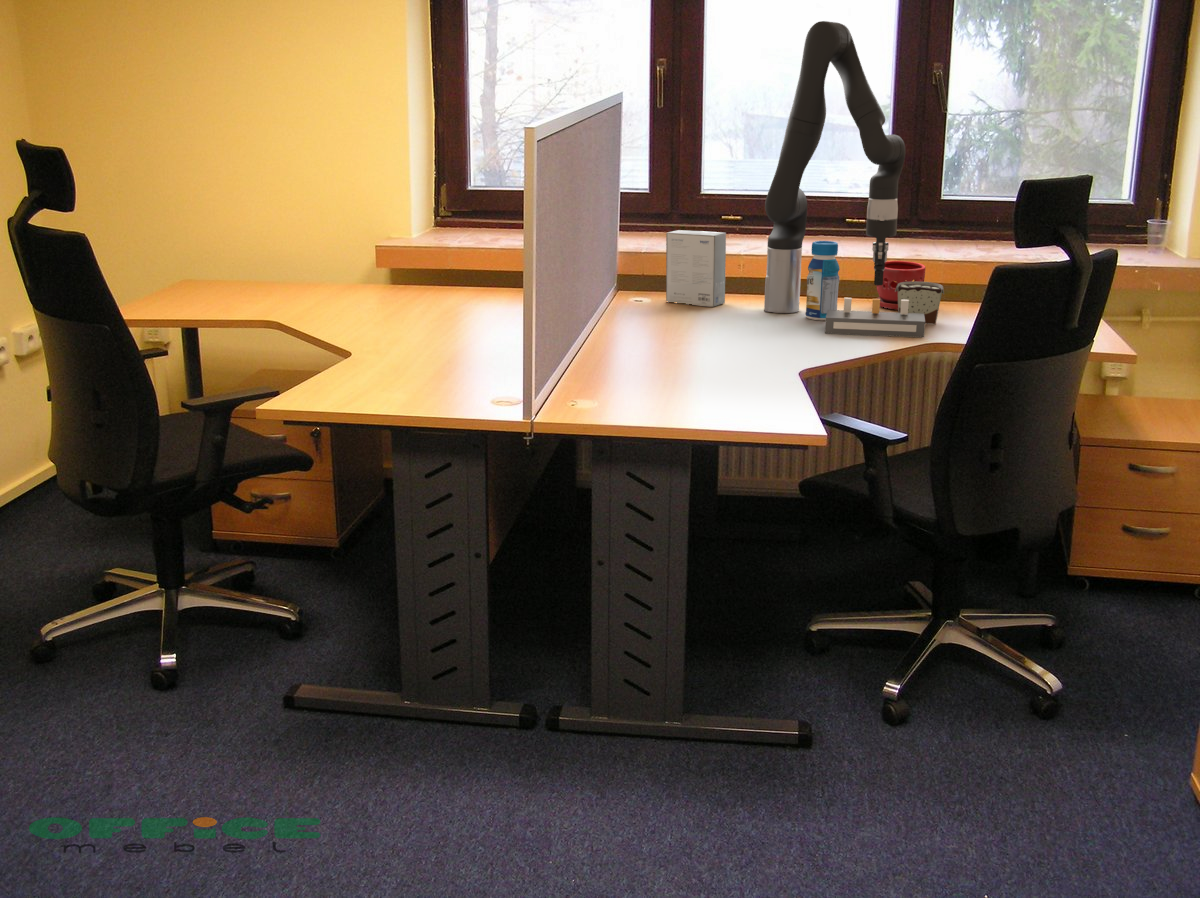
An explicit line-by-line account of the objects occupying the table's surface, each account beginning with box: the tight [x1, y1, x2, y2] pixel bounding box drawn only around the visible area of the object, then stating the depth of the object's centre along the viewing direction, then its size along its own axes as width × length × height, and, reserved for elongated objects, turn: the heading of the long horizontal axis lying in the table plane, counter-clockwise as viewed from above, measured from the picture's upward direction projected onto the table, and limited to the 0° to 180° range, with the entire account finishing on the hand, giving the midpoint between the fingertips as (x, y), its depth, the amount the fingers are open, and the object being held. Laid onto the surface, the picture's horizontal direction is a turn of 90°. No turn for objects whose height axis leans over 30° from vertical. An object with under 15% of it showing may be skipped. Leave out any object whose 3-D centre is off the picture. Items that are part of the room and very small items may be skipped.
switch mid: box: [871, 298, 881, 314], centre depth 294 cm, size 2×1×4 cm
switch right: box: [900, 300, 909, 315], centre depth 293 cm, size 2×1×4 cm
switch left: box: [843, 297, 853, 312], centre depth 296 cm, size 2×1×4 cm
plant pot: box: [875, 260, 926, 311], centre depth 322 cm, size 13×13×12 cm
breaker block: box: [824, 309, 926, 338], centre depth 294 cm, size 24×10×4 cm, turn 77°
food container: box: [895, 280, 945, 326], centre depth 304 cm, size 12×6×10 cm, turn 71°
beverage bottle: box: [805, 240, 840, 322], centre depth 307 cm, size 8×8×20 cm
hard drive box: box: [665, 229, 727, 308], centre depth 328 cm, size 16×8×20 cm, turn 58°
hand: (878, 284), depth 300 cm, fingers closed
